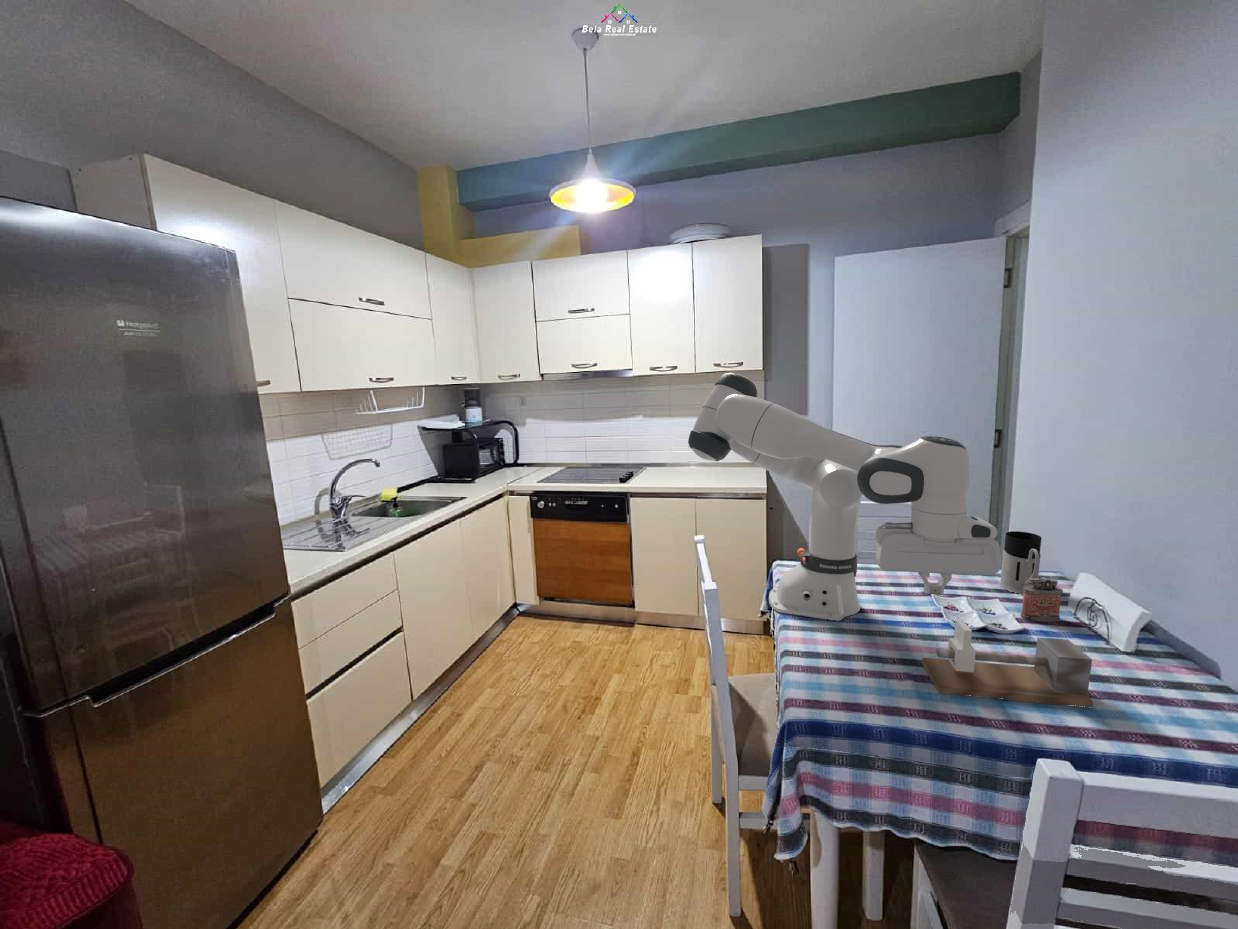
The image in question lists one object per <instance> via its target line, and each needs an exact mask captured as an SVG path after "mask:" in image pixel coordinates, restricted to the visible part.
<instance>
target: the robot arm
mask: <svg viewBox="0 0 1238 929" xmlns="http://www.w3.org/2000/svg"><path fill="white" fill-rule="evenodd" d="M687 443H688V446H689V448H690V450H692V452H694V454H695V455H697V457H699V458H701V459H703V460H706V461H713V462H719V461H722V460H724V459H725V458H726V457H727V456H728V454H730V453H731V451H732V452H734V453H735V454H736V455H738V456H739V457H741V458H743V459H745V460H746V461H748V462H749V463H753V464H754V465H756V466H758V467H759V468H762V469H763V470H766V471H768V472H769V473H772V474H774V475H776V476H777V477H779V478H782V479H786V480H789V481H792V482H793V483H797V484H798V485H800V486H803V487H805V488H808V489H810V490H811V491H812V501H811V510H810V511H811V512H810V520H809V531H808V532H809V533H808V534H809V535H808V549H806V550H805V548H803V547H800V548H798V549H797V551H796V552H797V555H798V557H800V559H799V560H800V563H799V564H796V565H795V566H794V567H791V568H790V569H789V570H787V571H785V572H784V573H782V575H781V576H780V577H779V581H778V584H777V586H776V587H773V588H772V589H771V590H770V591H769V593H768V594H769V595H768V602H769V605H770V607H771V608H772V609H773V610H774V611H776V612H778V613H782V614H789V615H796V616H803V617H809V618H815V619H823V620H827V619H828V620H829V621H834V620H835V622H839V621H841V620H843V619H844V618H845V617H848V616H852V615H853V616H854V615H855V614H857V613H858V612H859V611H860V610H861V604H860V601H859V598H858V593H857V592H858V590H857V583H856V576H857V573H858V555H857V554H856V548H857V547H856V545H857V544H856V543H857V541H856V540H857V523H858V518H859V514H860V508H861V502H862V495H863V497H865V498H866V499H867V500H868V501H871V502H872V503H873V502H874V503H876V504H880V505H893V504H894V505H895V504H906V503H910V505H911V506H910V508H911V509H910V522H890V521H888V522H885V523H884V524H881V525H879V526H878V528H876V532H875V533H876V534H875V535H876V536H875V539H876V542H877V547H876V552H875V562H876V564H877V566H878V567H879V568H880V569H881V571H885V572H886V571H887V572H909V573H910V572H911V573H914V572H915V573H917V574H918V575H919V577H920V579H921V581H922V582H923V592H924V593H925V594H927V595H941V596H942V595H945V587H946V585H947V584H949V582H950V581H951V580H952V579H953V577H952V576H953V575H954V574H955V575H981V576H982V575H983V576H995V575H997V574H998V573H999V571H1001V566H1002V563H1001V562H1002V561H1001V560H1002V558H1001V547H1000V544H999V542H998V541H997V540H996V538H997V536H998V529H997V528H996V527H995V526H994V525H993V524H992V523H990V522H988V521H986V520H984V519H982V518H980V517H977V516H974V515H970V514H968V508H967V507H968V506H967V504H966V495H967V493H968V491H969V490H968V489H969V486H970V458H969V453H968V450H967V448H966V447H965V445H963V444H962V443H961V442H959V441H958V440H954V439H952V438H947V437H942V436H935V435H934V436H932V435H931V436H930V435H925V436H921V437H919V438H918V439H917V440H915V441H913V442H911V443H909V444H907V445H904V446H902V445H897V444H887V445H886V444H884V445H883V444H882V445H881V444H880V445H879V444H872V443H869V442H865V441H862V440H860V439H857V438H854V437H851V436H848V435H846V434H843V433H840V432H837V431H834V430H832V429H830V428H827V427H825V426H822V425H820V424H818V423H817V422H814V421H813V420H810V419H808V418H806V417H804V416H803V415H801V414H799V413H796V412H795V411H793V410H790V409H789V408H786V407H784V406H782V405H780V404H777V403H774V402H771V401H769V400H766V399H764V398H763V399H762V398H760V397H758V389H757V386H756V385H755V383H754V382H752V380H750V379H749V378H748V377H746V376H745V375H741V374H739V373H734V372H728V373H726V372H725V373H723V374H722V375H720V377H719V378H718V379H717V380H716V382H714V387H713V388H712V390H711V391H710V393H709V394H708V395H707V397H706V399H705V401H704V402H703V404H702V406H701V410H700V411H699V414H698V416H697V418H696V421H695V424H694V426H693V429H692V430H690V433H689V436H688V441H687ZM931 573H932V574H940V577H939V579H938V581H937V582H931V581H929V580H928V578H930V577H931V576H930V574H931Z"/></svg>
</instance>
